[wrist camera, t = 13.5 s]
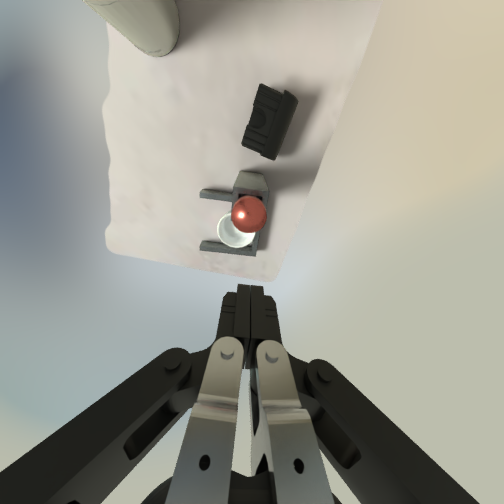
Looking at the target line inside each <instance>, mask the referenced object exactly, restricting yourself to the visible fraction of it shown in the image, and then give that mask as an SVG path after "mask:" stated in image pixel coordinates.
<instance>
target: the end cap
mask: <svg viewBox="0 0 504 504" xmlns="http://www.w3.org/2000/svg"><path fill="white" fill-rule="evenodd" d="M297 104H298V100H297V98H296V97H295V96H294V95H293V94H291V93H290V92H288V91H286V90H284V92H283V94H282V93H280V92H278V91H276V90H274V89H272V88H270V87H268V86H266V85H264V84H259V87H258V91H257V94H256V97H255V100H254V104H253V106H254V107H253V111H252V114H251V117H250V121H249V124H248V125H247V127H246V130H245V133H244V136H243V140H242V143H241V144H242V146H244V147H246V148H249V149H251V150H253V151H256V152H258V153H260V155H261V156H263V157H266V158H268V159H271V160H274V161H275V160H276V157H277V155H278V152H279V150H280V147H281V145H282V142H283V139H284V137H285V134H286V132H287V129H288V127H289V124H290V122H291V119H292V117H293V114H294V112H295V109H296V107H297Z"/></svg>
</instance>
